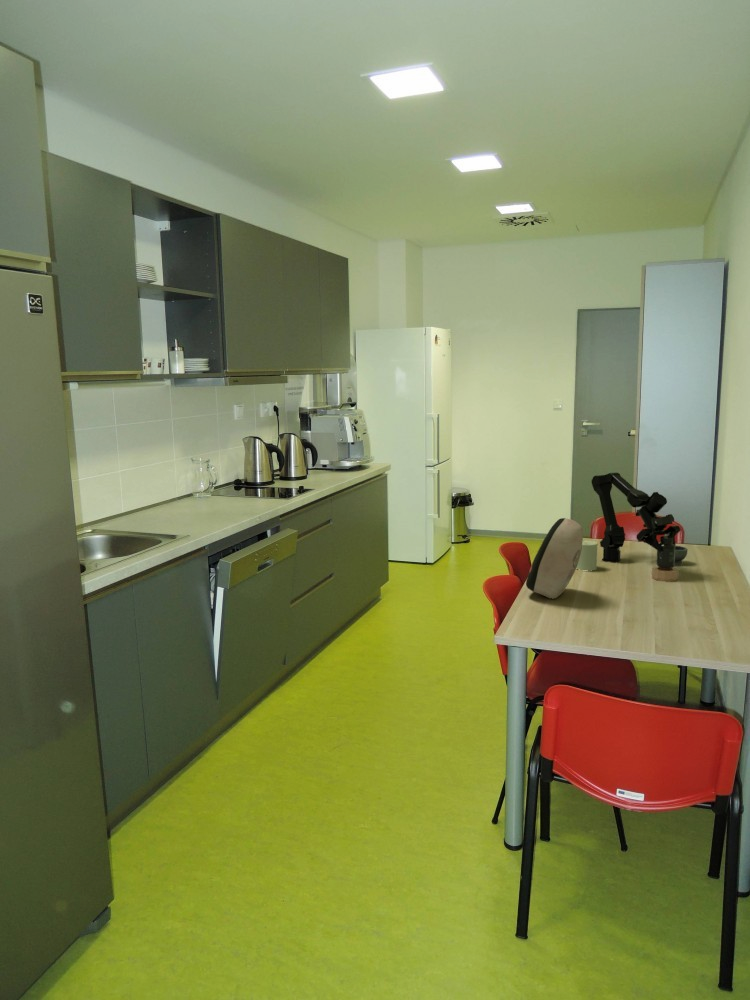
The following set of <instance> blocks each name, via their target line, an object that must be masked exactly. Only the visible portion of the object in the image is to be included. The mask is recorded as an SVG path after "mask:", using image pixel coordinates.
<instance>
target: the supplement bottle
mask: <svg viewBox="0 0 750 1000" xmlns="http://www.w3.org/2000/svg"><path fill="white" fill-rule="evenodd" d="M672 542H673V537H670V536H664V535H660V537H659V544H660V546H661V548H662V552H659V551H658V550H656V566H658V567H662V568H672V567H675V566H676V565H675V545H676V544H675V545H674V544H673V543H672Z"/></svg>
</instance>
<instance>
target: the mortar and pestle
mask: <svg viewBox="0 0 750 1000" xmlns="http://www.w3.org/2000/svg"><path fill="white" fill-rule="evenodd" d="M687 555H688V548H687V547H685V546H681V545H676V550H675V565H674V566H681V565H683V560H684V559H685V558H686V557H687Z"/></svg>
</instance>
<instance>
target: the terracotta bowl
mask: <svg viewBox="0 0 750 1000" xmlns="http://www.w3.org/2000/svg"><path fill="white" fill-rule="evenodd" d="M679 571H680V570H679V569H678V568H677V567H675V566H674V567H672V568H662V567H658V566H657V565H654V566H652V567H651V578H652V579H653V580H656V581H660V582H668V581H671V582H676V580H677V581H679Z"/></svg>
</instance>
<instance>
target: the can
mask: <svg viewBox="0 0 750 1000" xmlns="http://www.w3.org/2000/svg"><path fill="white" fill-rule="evenodd" d="M598 545H599V544H598V542H597V541H596V540H595V541H594V540H586V539H585V540H583V543H582V550H581V555H580V559H579V562H578V565H577V567H576V568H577V569H580V570H588V571H587V572H592V571H591V570H595V571H597V570H598V567H597V564H598V563H597V562H598V561H597V560H598ZM596 569H597V570H596Z"/></svg>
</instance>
